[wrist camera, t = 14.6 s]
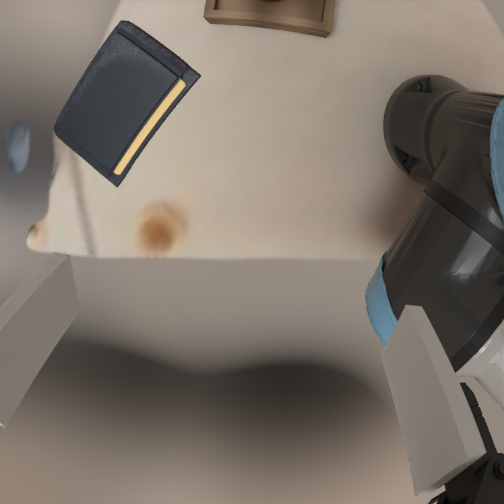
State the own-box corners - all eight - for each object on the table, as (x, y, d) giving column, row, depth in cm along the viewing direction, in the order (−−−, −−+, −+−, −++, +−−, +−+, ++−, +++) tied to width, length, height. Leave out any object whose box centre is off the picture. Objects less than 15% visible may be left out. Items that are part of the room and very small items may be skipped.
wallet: (120, 14, 29) (203, 78, 33) (126, 17, 30) (206, 78, 35) (44, 130, 36) (112, 192, 41) (52, 128, 38) (118, 188, 42)
